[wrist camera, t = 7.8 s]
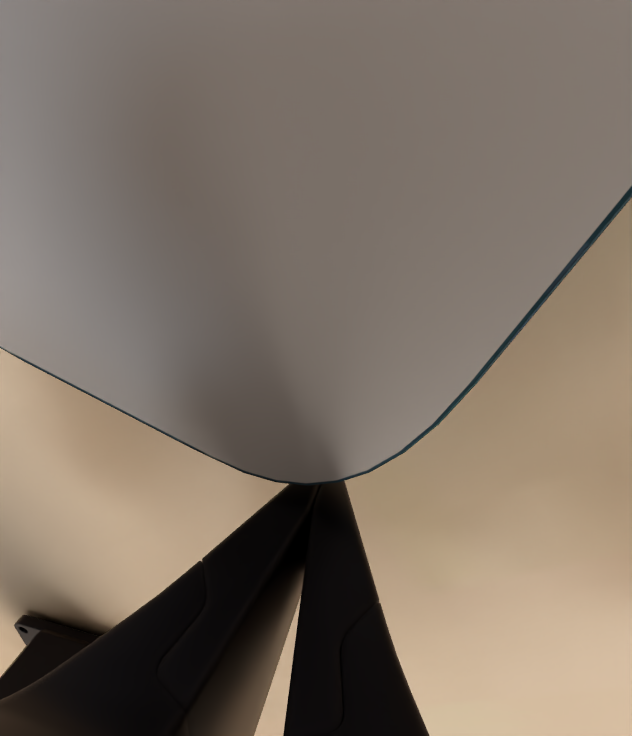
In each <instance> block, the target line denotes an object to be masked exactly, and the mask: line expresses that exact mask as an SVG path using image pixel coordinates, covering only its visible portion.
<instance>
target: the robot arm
mask: <svg viewBox="0 0 632 736" xmlns="http://www.w3.org/2000/svg"><path fill="white" fill-rule="evenodd" d="M300 596H301V601H300V609H299V617H298V625H297V633H296V641H295V648H294V656H293V664H292V672H291V680H290V688H289V696H288V704H287V712H286V719H285V727H284V735H283V736H429V734H428V731H427V729H426V727H425V724H424V722H423V719H422V717H421V715H420V712H419V710H418V708H417V705H416V703H415V700H414V698H413V696H412V693H411V691H410V688H409V686H408V683H407V680H406V678H405V675H404V673H403V670H402V667H401V665H400V662H399V660H398V657H397V655H396V651H395V648H394V645H393V642H392V639H391V636H390V633H389V630H388V627H387V624H386V621H385V617H384V614H383V610H382V607H381V604H380V603H379V597H378V594H377V591H376V587H375V584H374V580H373V577H372V573H371V570H370V567H369V563H368V560H367V556H366V553H365V550H364V546H363V543H362V539H361V536H360V532H359V529H358V526H357V522H356V519H355V515H354V512H353V508H352V505H351V502H350V498H349V495H348V491H347V488H346V485H345V481H341V482H338V483H328V484H318V485H298V484H289V485H288V486H286V487H285V488H284V489H283V490H282V491H281V492H279V493H278V494H277V495H276V496H275V497H274V498H272V499H271V500H270V501H269V502H268V503H267V504H265V505H264V506H263V507H262V508H261V509H260V510H258V511H257V512H256V513H255V514H254V515H253V516H251V517H250V518H249V519H248V520H247V521H245V522H244V523H243V524H242V525H241V526H240V527H238V528H237V529H236V530H235V531H234V532H233V533H231V534H230V535H229V536H228V537H227V538H226V539H224V540H223V541H222V542H221V543H220V544H219V545H217V546H216V547H215V548H214V549H213V550H212V551H210V552H209V553H208V554H207V555H206V556H205V557H203V559H202V561H199V562H197V563H196V564H195V565H194V566H193V567H192V568H190V569H189V570H188V571H187V572H186V573H185V574H183V575H182V576H181V577H180V578H178V579H177V580H176V581H175V582H173V583H172V584H171V585H170V586H169V587H167V588H166V589H165V590H164V591H162V592H161V593H160V594H159V595H157V596H156V597H155V598H153V599H152V600H150V601H149V602H148V603H146V604H145V605H144V606H142V607H141V608H140V609H138V610H137V611H136V612H134V613H133V614H132V615H130V616H129V617H127V618H126V619H125V620H123V621H122V622H120V623H119V624H118V625H116V626H115V627H113V628H112V629H111V630H109V631H108V632H106V633H105V634H103V635H102V636H101V637H99V636H96V635H93V634H89V633H86V632H83V631H79V630H76V629H72V628H69V627H66V626H62V625H59V624H55V623H52V622H49V621H45V620H42V619H39V618H35V617H32V616H28V615H22V617H21V618H20V619H19V620H18V621H17V622H16V623H15V625H14V626H15V628H16V630H17V631H18V633H19V634H20V636H21V638H22V639H23V641H24V642H25V644H26V647H25V648H24V649H23V651H22V652H21V653H20V654H19V655H18V657H17V658H16V659H15V660H14V661H13V663H12V664H11V665H10V666H9V667H8V669H7V670H6V671H5V672H4V673H3V675H2V676H1V677H0V736H254V734H255V731H256V728H257V725H258V722H259V719H260V716H261V713H262V710H263V707H264V704H265V701H266V698H267V695H268V692H269V689H270V686H271V683H272V680H273V677H274V674H275V671H276V668H277V665H278V662H279V659H280V656H281V653H282V650H283V647H284V644H285V641H286V638H287V635H288V632H289V629H290V626H291V623H292V620H293V617H294V614H295V611H296V608H297V605H298V602H299V599H300Z"/></svg>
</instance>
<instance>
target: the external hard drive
mask: <svg viewBox="0 0 632 736" xmlns="http://www.w3.org/2000/svg"><path fill="white" fill-rule="evenodd" d="M631 197H632V0H0V348H1V349H3V350H5V351H7V352H8V353H10V354H12V355H14V356H15V357H17V358H19V359H21V360H22V361H24V362H26V363H28V364H30V365H32V366H34V367H36V368H38V369H40V370H42V371H44V372H45V373H47V374H49V375H51V376H53V377H55V378H57V379H59V380H61V381H63V382H65V383H67V384H69V385H71V386H72V387H74V388H76V389H78V390H80V391H82V392H84V393H86V394H88V395H90V396H92V397H94V398H96V399H98V400H100V401H101V402H103V403H105V404H107V405H109V406H111V407H113V408H115V409H117V410H119V411H121V412H123V413H125V414H127V415H128V416H130V417H132V418H134V419H136V420H138V421H140V422H142V423H144V424H146V425H148V426H150V427H152V428H154V429H156V430H157V431H159V432H161V433H163V434H165V435H167V436H169V437H171V438H173V439H175V440H177V441H179V442H181V443H183V444H184V445H186V446H188V447H190V448H192V449H194V450H196V451H198V452H201V453H203V454H205V455H207V456H209V457H211V458H213V459H215V460H218V461H220V462H222V463H224V464H226V465H228V466H230V467H233V468H235V469H237V470H239V471H241V472H243V473H246V474H250V475H253V476H257V477H260V478H264V479H267V480H270V481H274V482H279V483H289V484H298V485H318V484H328V483H338V482H341V481H344V480H347V479H350V478H354V477H357V476H360V475H363V474H366V473H369V472H371V471H373V470H375V469H376V468H378V467H380V466H382V465H383V464H385V463H387V462H389V461H390V460H392V459H394V458H396V457H397V456H399V455H401V454H403V453H404V452H406V451H407V450H408V449H409V448H410V447H412V446H413V445H414V444H415V443H417V442H418V441H419V440H420V439H421V438H423V437H424V436H425V435H426V434H428V433H429V432H430V431H431V430H432V429H434V428H435V427H436V426H437V425H438V424H439V423H440V422H441V421H442V420H443V419H444V418H445V417H446V416H447V415H448V414H449V413H450V412H451V411H452V409H453V408H454V407H455V406H456V405H457V404H458V403H459V402H460V401H461V400H462V399H463V398H464V396H465V395H466V394H467V393H468V392H469V391H470V390H471V389H472V388H473V387H474V386H475V385H476V384H477V382H478V381H479V380H480V379H481V378H482V376H483V375H484V374H485V373H486V372H487V370H488V369H489V368H490V367H491V366H492V364H493V363H494V362H495V361H496V360H497V358H498V357H499V356H500V355H501V354H502V352H503V351H504V350H505V349H506V348H507V346H508V345H509V344H510V343H511V342H512V340H513V339H514V338H515V337H516V336H517V334H518V333H519V332H520V331H521V330H522V328H523V327H524V326H525V325H526V324H527V322H528V321H529V320H530V319H531V318H532V316H533V315H534V314H535V313H536V312H537V310H538V309H539V308H540V307H541V306H542V304H543V303H544V302H545V301H546V300H547V298H548V297H549V296H550V295H551V294H552V292H553V291H554V290H555V289H556V288H557V286H558V285H559V284H560V283H561V282H562V280H563V279H564V278H565V277H566V276H567V274H568V273H569V272H570V271H571V270H572V268H573V267H574V266H575V265H576V264H577V262H578V261H579V260H580V259H581V257H582V256H583V255H584V254H585V253H586V251H587V250H588V249H589V248H590V247H591V245H592V244H593V243H594V242H595V241H596V239H597V238H598V237H599V236H600V235H601V233H602V232H603V231H604V230H605V229H606V227H607V226H608V225H609V224H610V223H611V221H612V220H613V219H614V218H615V217H616V215H617V214H618V213H619V212H620V211H621V209H622V208H623V207H624V206H625V205H626V203H627V202H628V201H629V200H630V199H631Z"/></svg>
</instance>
